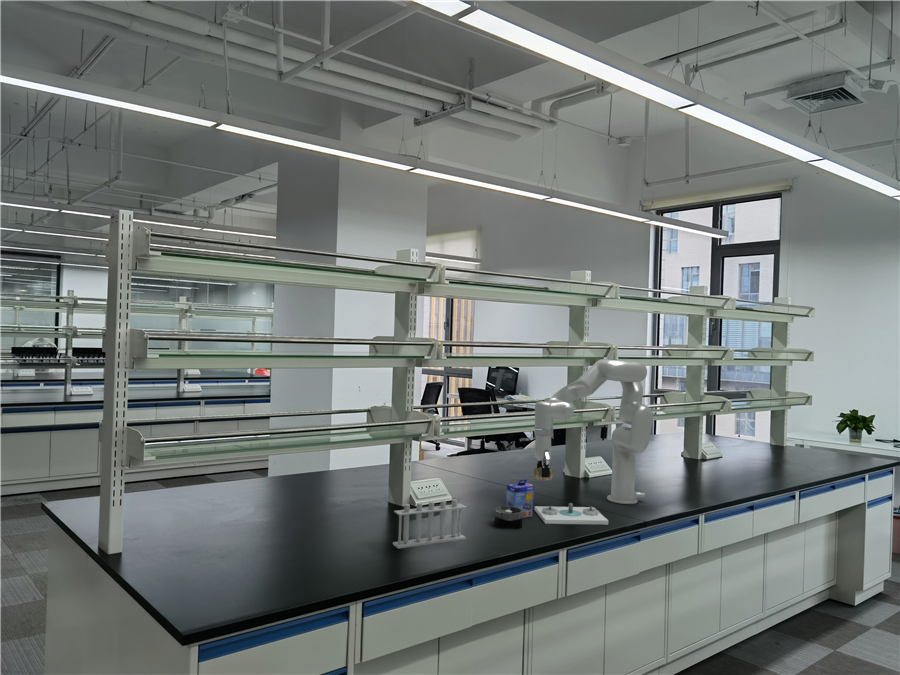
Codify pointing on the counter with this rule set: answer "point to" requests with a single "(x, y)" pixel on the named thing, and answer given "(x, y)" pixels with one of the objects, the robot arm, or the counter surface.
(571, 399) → the robot arm
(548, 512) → the gear board
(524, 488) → the ink cartridge box
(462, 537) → the test tube rack
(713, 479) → the counter surface
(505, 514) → the cpu cooler
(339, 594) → the counter surface
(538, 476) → the maple gear
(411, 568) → the counter surface
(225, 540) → the counter surface
